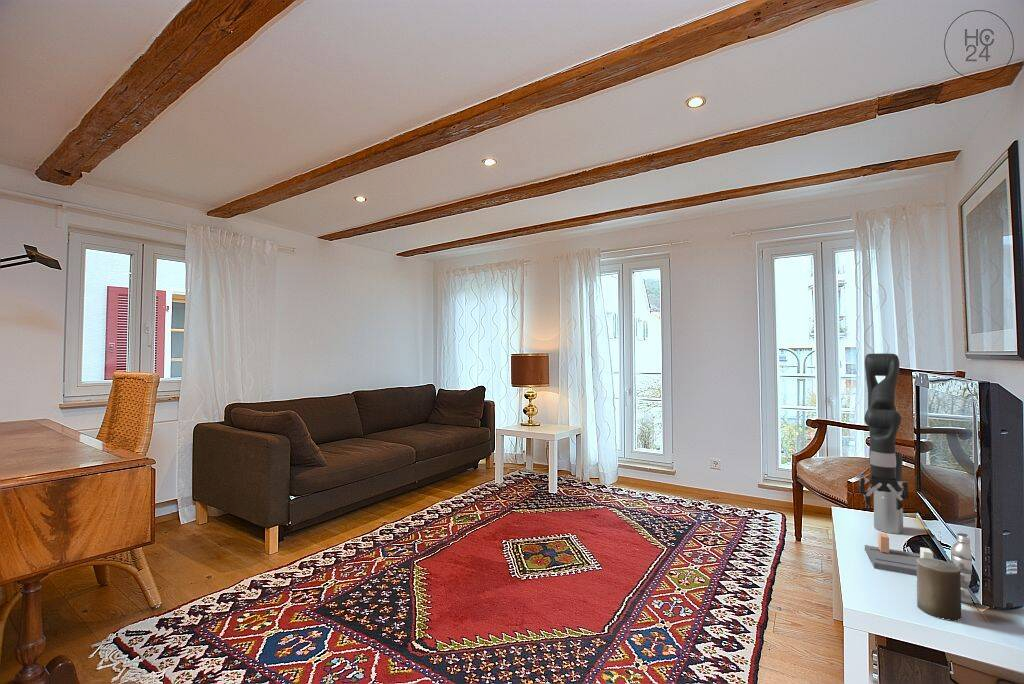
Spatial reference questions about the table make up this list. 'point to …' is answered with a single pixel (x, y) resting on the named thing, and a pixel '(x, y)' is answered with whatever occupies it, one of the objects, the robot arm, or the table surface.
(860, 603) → the table surface
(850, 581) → the table surface
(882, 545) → the block
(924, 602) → the pillar candle
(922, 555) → the cream fader
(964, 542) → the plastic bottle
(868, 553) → the fader panel
